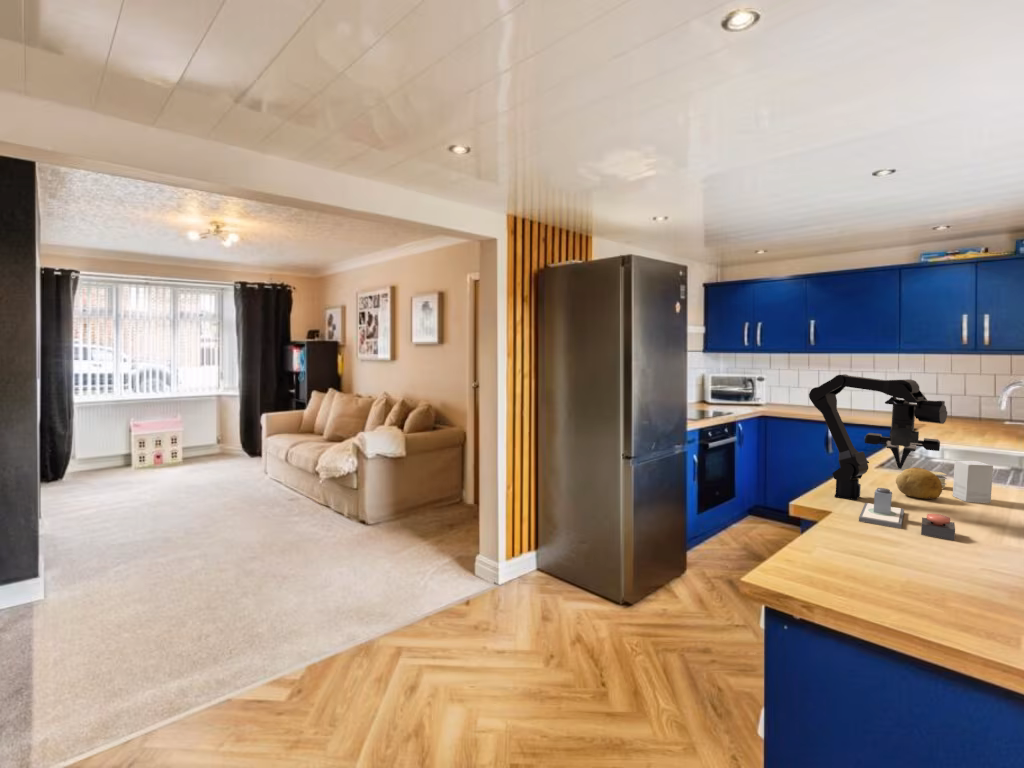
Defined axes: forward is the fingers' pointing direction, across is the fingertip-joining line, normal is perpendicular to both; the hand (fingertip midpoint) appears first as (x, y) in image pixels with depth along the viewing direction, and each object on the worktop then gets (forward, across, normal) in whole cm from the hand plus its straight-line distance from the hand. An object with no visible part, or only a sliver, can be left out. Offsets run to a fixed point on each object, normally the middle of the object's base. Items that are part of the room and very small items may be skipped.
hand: (899, 468), depth 165 cm
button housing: (+13, +10, -21) cm, 27 cm away
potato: (+13, +4, +20) cm, 24 cm away
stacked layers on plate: (+14, +8, +40) cm, 43 cm away
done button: (+12, +10, -21) cm, 26 cm away
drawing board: (+13, -3, -13) cm, 19 cm away
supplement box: (+13, +18, +27) cm, 35 cm away
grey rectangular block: (+11, -3, -13) cm, 18 cm away
